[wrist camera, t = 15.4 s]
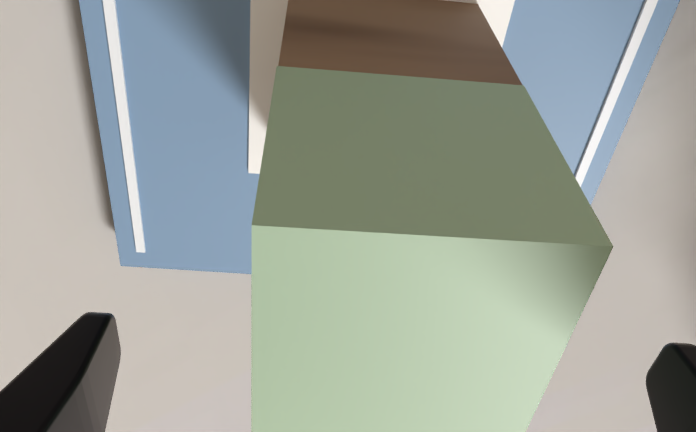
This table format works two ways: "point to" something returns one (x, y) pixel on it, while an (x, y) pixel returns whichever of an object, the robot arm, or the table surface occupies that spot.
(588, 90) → the board
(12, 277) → the table surface
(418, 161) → the green block
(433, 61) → the walnut block
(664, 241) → the table surface
